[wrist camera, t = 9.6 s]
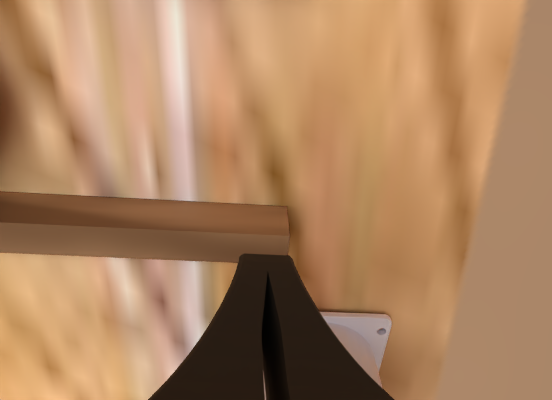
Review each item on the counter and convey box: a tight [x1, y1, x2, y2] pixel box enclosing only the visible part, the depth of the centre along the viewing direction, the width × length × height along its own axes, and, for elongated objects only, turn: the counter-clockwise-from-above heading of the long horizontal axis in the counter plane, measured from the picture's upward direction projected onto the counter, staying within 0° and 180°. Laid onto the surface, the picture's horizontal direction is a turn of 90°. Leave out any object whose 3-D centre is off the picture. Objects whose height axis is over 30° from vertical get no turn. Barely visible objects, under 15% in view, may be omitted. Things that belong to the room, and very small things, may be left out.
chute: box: [0, 192, 290, 263], centre depth 18 cm, size 14×23×4 cm, turn 85°
